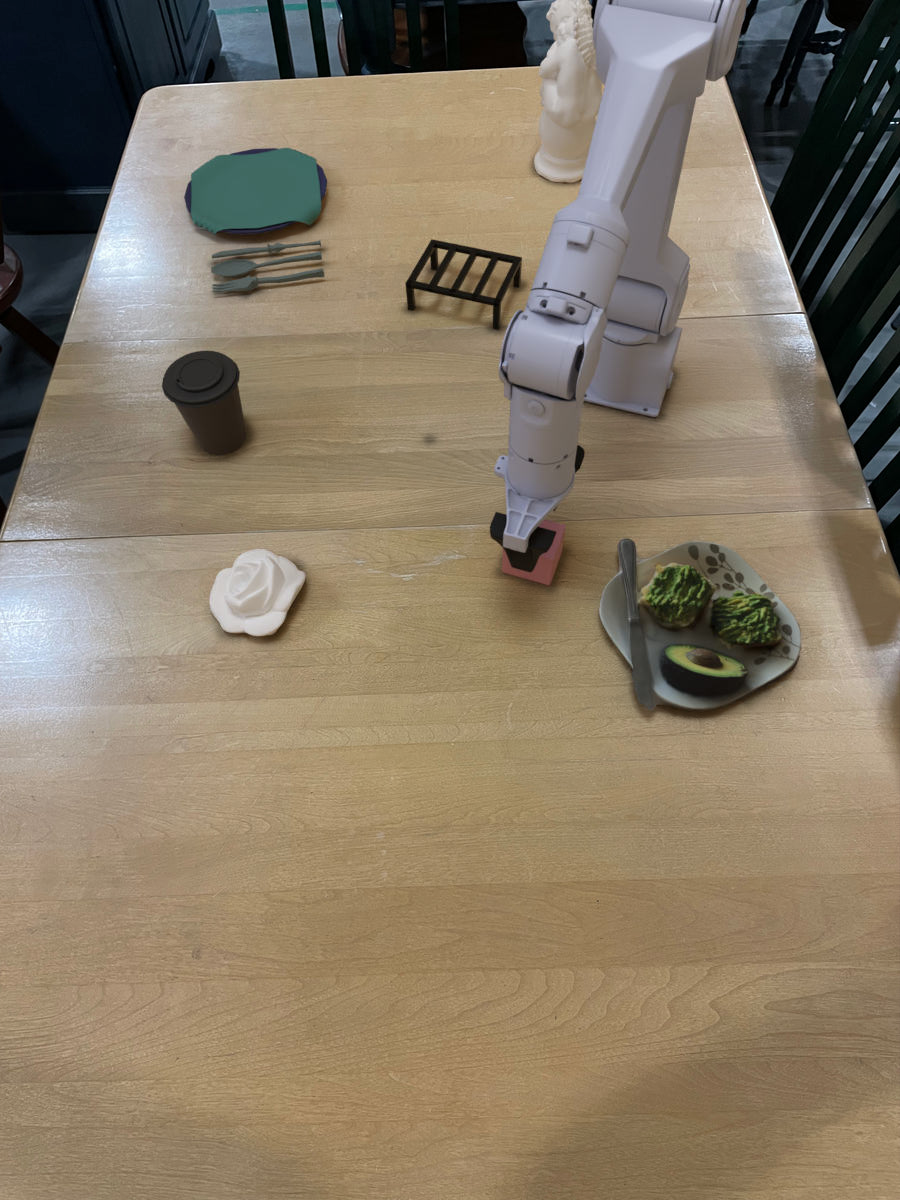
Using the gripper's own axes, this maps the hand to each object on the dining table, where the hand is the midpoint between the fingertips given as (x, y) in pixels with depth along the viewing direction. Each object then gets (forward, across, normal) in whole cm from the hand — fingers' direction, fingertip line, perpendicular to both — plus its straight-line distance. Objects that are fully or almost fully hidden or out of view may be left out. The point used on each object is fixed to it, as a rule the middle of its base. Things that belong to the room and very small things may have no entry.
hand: (534, 536), depth 82 cm
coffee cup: (+5, -5, -38) cm, 39 cm away
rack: (+4, -36, -20) cm, 42 cm away
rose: (+5, +13, -24) cm, 28 cm away
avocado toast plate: (+5, +3, +17) cm, 18 cm away
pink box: (+4, 0, 0) cm, 5 cm away
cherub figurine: (+4, -67, -14) cm, 69 cm away
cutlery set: (+4, -42, -52) cm, 67 cm away
